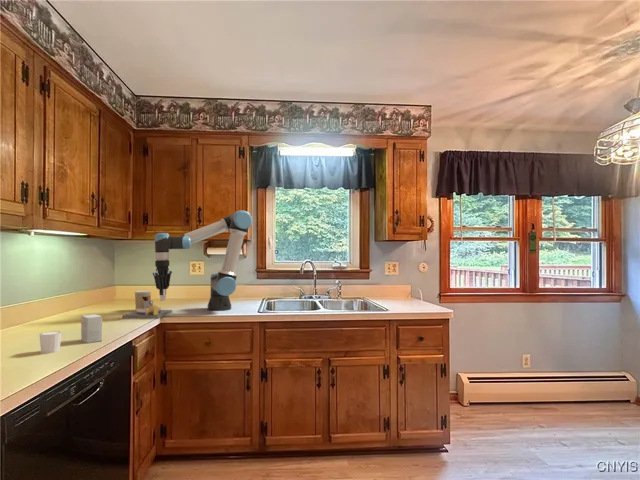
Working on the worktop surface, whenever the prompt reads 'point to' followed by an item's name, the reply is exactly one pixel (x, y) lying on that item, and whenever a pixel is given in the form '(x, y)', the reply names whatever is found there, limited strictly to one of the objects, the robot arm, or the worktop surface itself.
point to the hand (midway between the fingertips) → (163, 300)
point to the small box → (91, 328)
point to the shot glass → (50, 342)
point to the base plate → (135, 315)
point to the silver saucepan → (152, 308)
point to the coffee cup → (142, 298)
